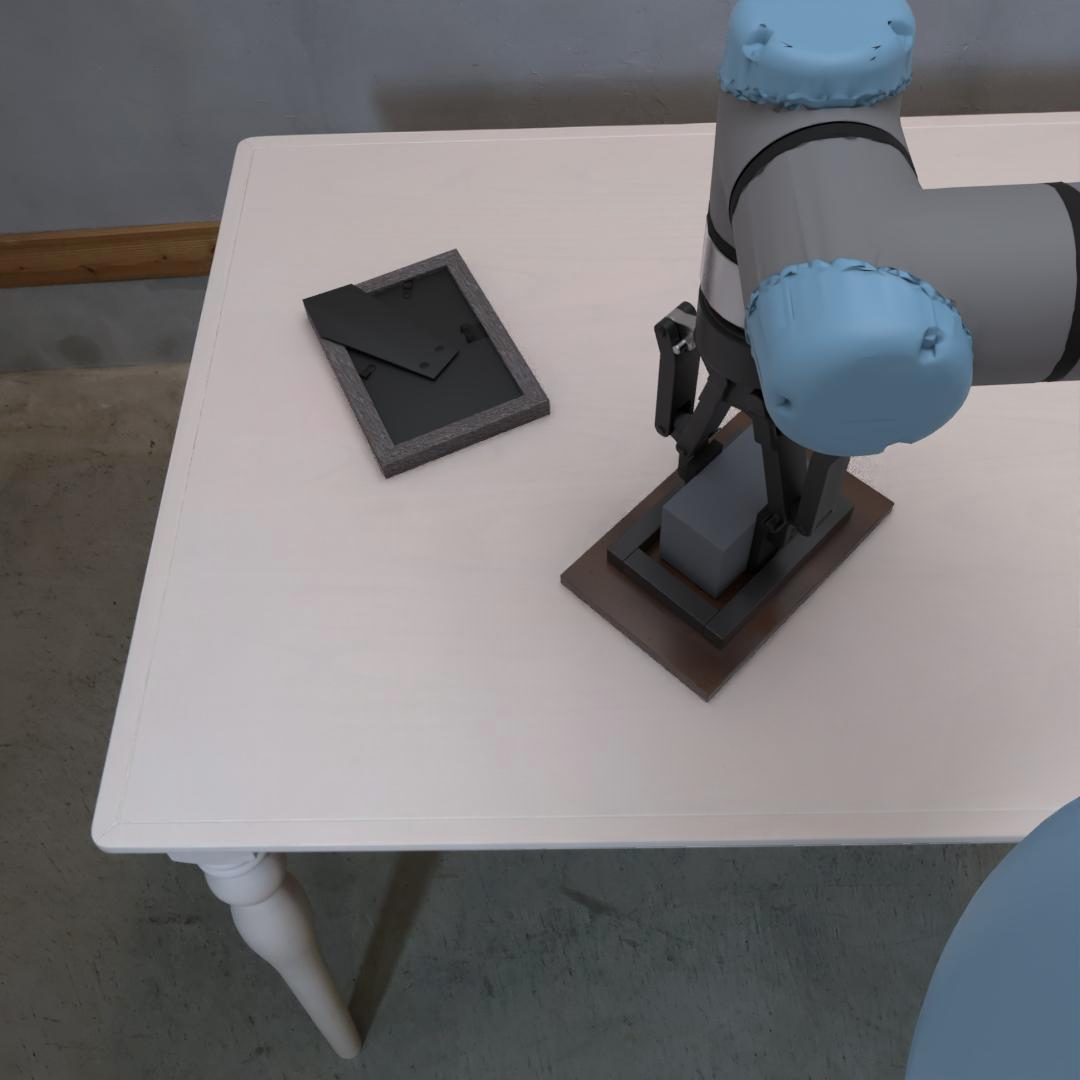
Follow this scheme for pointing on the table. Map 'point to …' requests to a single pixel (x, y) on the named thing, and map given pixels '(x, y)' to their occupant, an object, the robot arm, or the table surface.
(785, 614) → the back plate
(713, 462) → the pad block
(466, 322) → the picture frame
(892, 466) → the table surface
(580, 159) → the table surface
